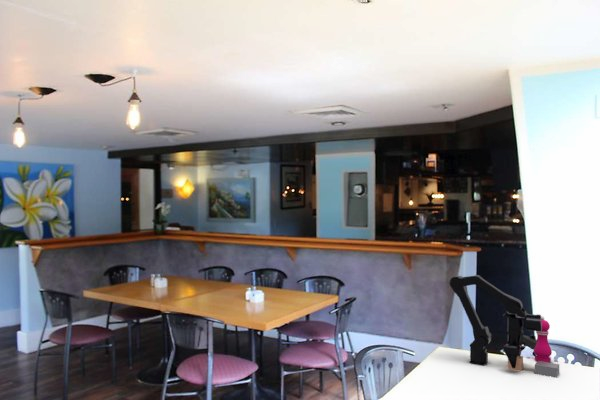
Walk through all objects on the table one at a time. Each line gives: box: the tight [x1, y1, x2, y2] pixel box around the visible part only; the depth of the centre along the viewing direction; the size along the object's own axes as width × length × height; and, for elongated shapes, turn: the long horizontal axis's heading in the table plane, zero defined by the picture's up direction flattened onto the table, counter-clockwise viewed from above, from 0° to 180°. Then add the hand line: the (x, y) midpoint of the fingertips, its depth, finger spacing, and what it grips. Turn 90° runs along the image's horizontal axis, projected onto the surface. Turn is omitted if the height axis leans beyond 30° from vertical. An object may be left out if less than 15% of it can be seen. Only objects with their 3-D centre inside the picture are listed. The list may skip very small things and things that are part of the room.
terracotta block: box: [507, 355, 524, 372], centre depth 201 cm, size 5×5×5 cm
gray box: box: [534, 361, 560, 379], centre depth 194 cm, size 8×7×4 cm
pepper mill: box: [533, 315, 553, 363], centre depth 212 cm, size 7×7×20 cm
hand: (515, 365), depth 201 cm, fingers open, 8 cm apart
